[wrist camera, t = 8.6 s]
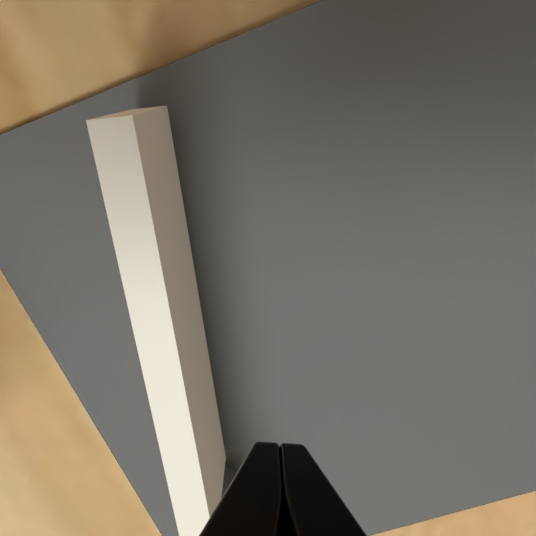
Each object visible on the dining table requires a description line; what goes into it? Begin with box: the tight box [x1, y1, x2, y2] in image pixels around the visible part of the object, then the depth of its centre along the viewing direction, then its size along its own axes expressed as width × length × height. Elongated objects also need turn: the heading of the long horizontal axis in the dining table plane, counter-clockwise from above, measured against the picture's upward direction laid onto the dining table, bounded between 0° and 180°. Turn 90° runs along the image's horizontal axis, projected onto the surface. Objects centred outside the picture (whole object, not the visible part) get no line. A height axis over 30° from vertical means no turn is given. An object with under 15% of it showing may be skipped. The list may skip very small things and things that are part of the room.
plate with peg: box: [0, 0, 536, 536], centre depth 18 cm, size 23×23×6 cm
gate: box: [86, 106, 237, 536], centre depth 18 cm, size 18×2×5 cm, turn 6°
